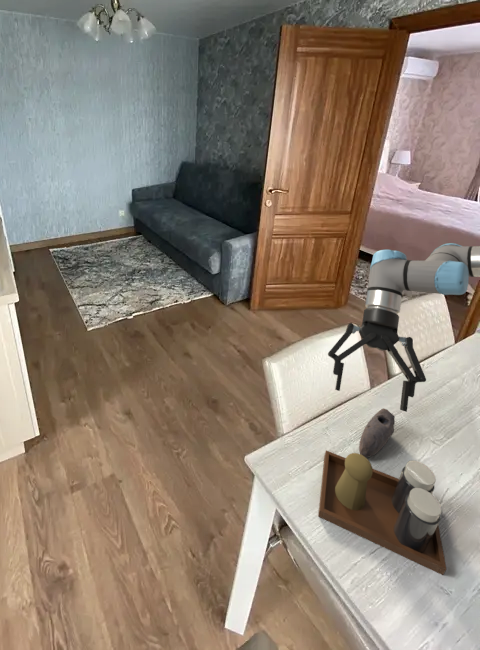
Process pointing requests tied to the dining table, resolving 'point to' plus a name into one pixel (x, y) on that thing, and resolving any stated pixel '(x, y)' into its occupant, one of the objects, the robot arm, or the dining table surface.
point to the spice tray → (373, 514)
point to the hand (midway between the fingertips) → (369, 400)
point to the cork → (354, 481)
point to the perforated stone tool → (376, 433)
